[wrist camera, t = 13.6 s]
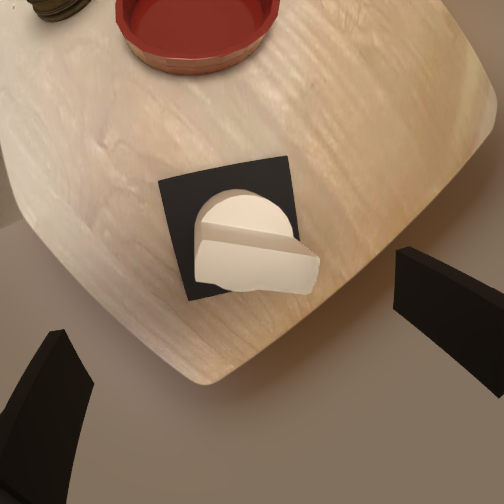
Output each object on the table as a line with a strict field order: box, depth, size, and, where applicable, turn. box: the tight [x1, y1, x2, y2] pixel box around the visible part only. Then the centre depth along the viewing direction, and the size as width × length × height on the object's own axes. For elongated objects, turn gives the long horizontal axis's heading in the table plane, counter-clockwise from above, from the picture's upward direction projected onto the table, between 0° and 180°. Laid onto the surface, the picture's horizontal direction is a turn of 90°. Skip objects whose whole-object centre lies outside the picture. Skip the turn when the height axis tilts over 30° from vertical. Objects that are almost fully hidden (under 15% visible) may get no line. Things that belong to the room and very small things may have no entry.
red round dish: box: [115, 0, 280, 75], centre depth 21 cm, size 17×17×5 cm
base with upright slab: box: [194, 189, 320, 295], centre depth 26 cm, size 9×9×12 cm
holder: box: [158, 156, 300, 301], centre depth 32 cm, size 14×14×1 cm
